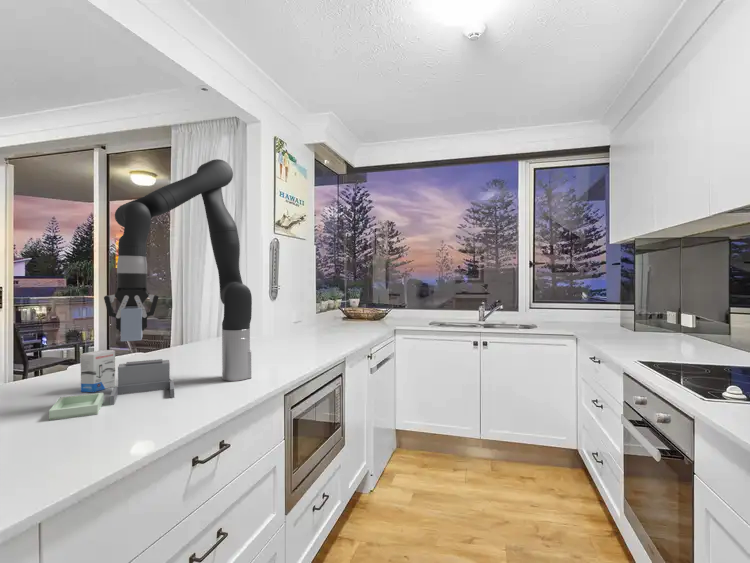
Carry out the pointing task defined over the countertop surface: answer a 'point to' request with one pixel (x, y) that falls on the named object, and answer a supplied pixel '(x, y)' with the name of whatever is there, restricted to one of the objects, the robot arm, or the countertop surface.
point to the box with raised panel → (131, 323)
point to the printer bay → (143, 378)
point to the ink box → (97, 370)
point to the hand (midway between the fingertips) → (131, 330)
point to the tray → (76, 406)
